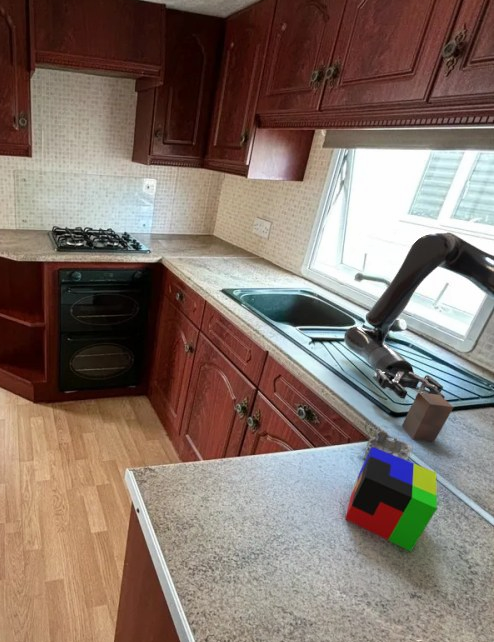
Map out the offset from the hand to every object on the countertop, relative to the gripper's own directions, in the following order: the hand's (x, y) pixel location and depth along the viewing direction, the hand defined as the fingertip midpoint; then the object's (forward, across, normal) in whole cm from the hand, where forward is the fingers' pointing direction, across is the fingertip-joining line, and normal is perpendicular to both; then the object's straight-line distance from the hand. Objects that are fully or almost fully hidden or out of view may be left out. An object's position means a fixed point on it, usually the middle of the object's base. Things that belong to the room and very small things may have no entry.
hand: (423, 398), depth 97 cm
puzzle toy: (+32, -22, +8) cm, 39 cm away
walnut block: (+4, 0, +8) cm, 9 cm away
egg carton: (+15, -13, +8) cm, 21 cm away
